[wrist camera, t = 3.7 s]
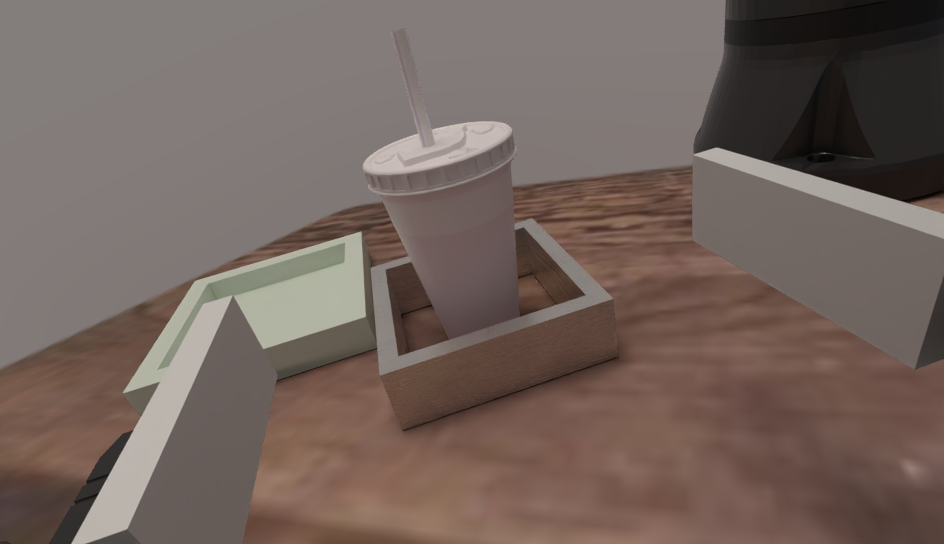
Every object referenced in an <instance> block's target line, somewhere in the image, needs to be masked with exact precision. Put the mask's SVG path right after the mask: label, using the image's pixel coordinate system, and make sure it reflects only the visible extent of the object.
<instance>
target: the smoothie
mask: <svg viewBox="0 0 944 544" xmlns="http://www.w3.org/2000/svg"><path fill="white" fill-rule="evenodd" d="M390 33H391V36H392V40H393V44H394V47H395V51H396V54H397V58H398V62H399V65H400V69H401V73H402V76H403V80H404V84H405V87H406V91H407V95H408V98H409V102H410V105H411V109H412V113H413V116H414V120H415V124H416V127H417V131H418V134H416V135H413V136H410V137H407V138H404V139H401V140H399V141H396V142H394V143H392V144H390V145H387V146H385V147H384V148H381V149H379V150H378V151H376V152H375V153H373V154H372V155H371V156H369V157H368V158H367V159H366V160H365V162H364V164H363V170H364V173H365V176H366V179H367V182H368V189H369V190H370V191H371V192H373V193H374V194H377V195H380V197H381V198H382V201H383V203H384V205H385V207H386V209H387V212H388V214H389V216H390V218H391V220H392V223H393V225H394V227H395V229H396V230H397V233H398V235H399V237H400V239H401V241H402V243H403V245H404V247H405V249H406V251H407V253H408V256H409V258H410V260H411V262H412V264H413V266H414V268H415V270H416V272H417V274H418V276H419V279H420V281H421V283H422V285H423V287H424V289H425V291H426V293H427V295H428V297H429V299H430V301H431V304H432V306H433V308H434V310H435V312H436V314H437V316H438V318H439V320H440V322H441V324H442V327H443V329H444V331H445V333H446V335H447V337H448V339H449V340H450V339H454V338H457V337H460V336H463V335H466V334H469V333H472V332H475V331H478V330H481V329H484V328H487V327H490V326H493V325H496V324H500V323H503V322H506V321H509V320H512V319H515V318H518V317H520V307H519V290H518V274H517V258H516V241H515V225H514V209H513V189H512V178H511V161H512V160H513V159H514V157H515V156H516V154H517V146H515V144H514V139H513V132H512V128H511V127H510V126H508V125H507V124H505V123H500V122H491V121H485V122H483V121H482V122H469V123H462V124H456V125H451V126H446V127H441V128H437V129H433V130H432V129H431V125H430V121H429V118H428V114H427V110H426V106H425V102H424V98H423V94H422V91H421V87H420V83H419V79H418V75H417V71H416V67H415V64H414V60H413V56H412V52H411V48H410V44H409V41H408V37H407V33H406V29H405V28H403V29H399V30H395V31H392V32H390Z"/></svg>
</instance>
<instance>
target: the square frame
mask: <svg viewBox="0 0 944 544" xmlns="http://www.w3.org/2000/svg"><path fill="white" fill-rule="evenodd" d="M514 225H515V241H516V258H517V274H518V277H521V276H524V275H527V274H530V273H533V275H534V276H535V277H536V278H537V280H538V281H539V282H540V284H541V285H542V286H543V288H544V289H545V290H546V291H547V293H548V294H549V295H550V297H551V298H552V299H553V300H554V302H555V303H556V304H557V305H555V306H552V307H549V308H545V309H542V310H539V311H536V312H533V313H530V314H527V315H524V316H521V317H518V318H515V319H512V320H509V321H506V322H503V323H500V324H496V325H493V326H490V327H487V328H484V329H481V330H478V331H475V332H472V333H469V334H466V335H463V336H460V337H457V338H454V339H450V340H447V341H444V342H441V343H438V344H435V345H432V346H429V347H426V348H423V349H420V350H417V351H414V352H411V353H408V348H407V342H406V337H405V331H404V326H403V320H402V315H401V314H404V313H407V312H410V311H414V310H417V309H420V308H423V307H426V306H429V305H432V304H431V301H430V299H429V297H428V295H427V293H426V291H425V289H424V287H423V285H422V283H421V281H420V279H419V276H418V274H417V272H416V270H415V268H414V266H413V264H412V262H411V260H410V258H409V256H408V257H404V258H401V259H398V260H395V261H391V262H388V263H385V264H382V265H378V266H375V267H372V268H371V279H372V290H373V302H374V314H375V326H376V338H377V350H378V361H379V373H380V378H381V380H382V382H383V385H384V387H385V390H386V392H387V394H388V397H389V399H390V401H391V404H392V406H393V409H394V411H395V413H396V416H397V418H398V421H399V423H400V425H401V428H402V430H405V429H408V428H411V427H414V426H417V425H420V424H423V423H426V422H429V421H432V420H434V419H437V418H440V417H443V416H446V415H449V414H452V413H455V412H458V411H461V410H464V409H467V408H470V407H472V406H475V405H478V404H481V403H484V402H487V401H490V400H493V399H496V398H499V397H502V396H505V395H508V394H510V393H513V392H516V391H519V390H522V389H525V388H528V387H531V386H534V385H537V384H540V383H543V382H546V381H548V380H551V379H554V378H557V377H560V376H563V375H566V374H569V373H572V372H575V371H578V370H581V369H584V368H586V367H589V366H592V365H595V364H598V363H601V362H604V361H607V360H610V359H613V358H616V357H619V355H618V344H617V332H616V321H615V310H614V299H613V298H612V297H611V296H610V295H609V294H608V293H607V292H606V291H605V290H604V289H603V288H602V287H601V286H600V285H599V284H598V283H597V282H596V281H595V280H594V279H593V278H592V277H591V276H590V275H589V274H588V273H587V272H586V271H585V270H584V269H583V268H582V267H581V266H580V265H579V264H578V263H577V262H576V261H575V260H574V259H573V258H572V257H571V256H570V255H569V254H568V253H567V252H566V251H565V250H564V249H563V248H562V247H561V246H560V245H559V244H558V243H557V242H556V241H555V240H554V239H553V238H552V237H551V236H550V235H549V234H548V233H547V232H546V231H545V230H544V229H543V228H542V227H540V226H539V225H538V224H537V223H536V222H535V221H534V220H533V219H529V220H526V221H522V222H519V223H516V224H514Z"/></svg>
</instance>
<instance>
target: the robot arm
mask: <svg viewBox="0 0 944 544" xmlns="http://www.w3.org/2000/svg"><path fill="white" fill-rule="evenodd" d="M725 8H726V9H725V35H724V55H723V60H722V63H721V66H720V69H719V72H718V74H717V78H716V81H715V84H714V86H713V89H712V92H711V95H710V98H709V102H708V105H707V108H706V111H705V115H704V118H703V122H702V125H701V128H700V130H699V131H698V132H697V135H696V137H695V141H694V155H693V193H692V240H693V241H695V242H696V243H698V244H700V245H701V246H703V247H705V248H707V249H708V250H710V251H712V252H713V253H715V254H717V255H719V256H720V257H722V258H724V259H725V260H727V261H729V262H731V263H732V264H734V265H736V266H737V267H739V268H741V269H743V270H744V271H746V272H748V273H750V274H751V275H753V276H755V277H756V278H758V279H760V280H762V281H763V282H765V283H767V284H768V285H770V286H772V287H774V288H775V289H777V290H779V291H780V292H782V293H784V294H786V295H787V296H789V297H791V298H792V299H794V300H796V301H798V302H799V303H801V304H803V305H804V306H806V307H808V308H810V309H811V310H813V311H815V312H816V313H818V314H820V315H822V316H823V317H825V318H827V319H828V320H830V321H832V322H834V323H835V324H837V325H839V326H840V327H842V328H844V329H846V330H847V331H849V332H851V333H852V334H854V335H856V336H858V337H859V338H861V339H863V340H864V341H866V342H868V343H870V344H871V345H873V346H875V347H876V348H878V349H880V350H882V351H883V352H885V353H887V354H888V355H890V356H892V357H894V358H895V359H897V360H899V361H900V362H902V363H904V364H906V365H907V366H909V367H911V368H912V369H914V370H915V369H918V368H921V367H923V366H926V365H929V364H931V363H934V362H937V361H939V360H942V359H944V214H942V213H939V212H936V211H932V210H929V209H925V208H922V207H919V206H915V205H912V204H908V203H905V202H901V201H900V200H906V199H911V198H916V197H920V196H924V195H928V194H931V193H934V192H938V191H940V190H943V189H944V0H726V7H725ZM276 380H277V373H276V371H275V369H274V368H273V366H272V364H271V362H270V360H269V359H268V357H267V355H266V353H265V351H264V350H263V348H262V346H261V344H260V342H259V341H258V339H257V337H256V335H255V333H254V332H253V330H252V328H251V326H250V325H249V323H248V321H247V319H246V317H245V316H244V314H243V312H242V310H241V308H240V307H239V305H238V303H237V301H236V299H235V298H234V296H233V295H231V296H228V297H225V298H221V299H218V300H215V301H212V302H208V303H205V304H203V305H202V307H201V309H200V311H199V312H198V314H197V316H196V318H195V320H194V322H193V323H192V325H191V327H190V329H189V331H188V332H187V334H186V336H185V338H184V340H183V342H182V343H181V345H180V347H179V349H178V351H177V352H176V354H175V356H174V358H173V360H172V362H171V363H170V365H169V367H168V369H167V371H166V372H165V374H164V376H163V378H162V380H161V382H160V383H159V385H158V387H157V389H156V391H155V392H154V394H153V396H152V398H151V400H150V402H149V403H148V405H147V407H146V409H145V411H144V412H143V414H142V416H141V418H140V420H139V422H138V423H137V425H136V427H135V429H134V430H133V431H130V432H127V433H124V434H122V435H121V436H120V437H119V438H118V439H117V440H116V442H115V443H114V444H113V445H112V446H111V447H110V448H109V449H108V450H107V451H106V452H105V453H104V454H103V455H102V456H101V457H100V459H99V460H98V462H97V464H96V465H95V467H94V469H93V471H92V472H91V474H90V476H89V477H88V479H87V481H86V482H87V485H85V486H83V487H82V489H81V491H80V492H79V494H78V496H77V497H76V499H75V501H74V502H75V505H74V506H72V507H71V508H70V509H69V511H68V513H67V514H66V516H65V518H64V519H63V521H62V523H61V524H60V526H59V528H58V529H57V531H56V533H55V535H54V536H53V538H52V540H51V541H50V543H49V544H242V541H243V536H244V531H245V527H246V522H247V517H248V513H249V508H250V503H251V498H252V494H253V489H254V484H255V479H256V475H257V470H258V465H259V460H260V456H261V451H262V446H263V442H264V437H265V432H266V427H267V423H268V418H269V413H270V408H271V404H272V399H273V394H274V389H275V385H276ZM0 544H10V543H9V542H7V541H3V542H0Z"/></svg>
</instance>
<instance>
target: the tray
mask: <svg viewBox="0 0 944 544" xmlns="http://www.w3.org/2000/svg"><path fill="white" fill-rule="evenodd" d="M231 295H233V296H234V298H235V299H236V301H237V303H238V305H239V307H240V308H241V310H242V312H243V314H244V316H245V317H246V319H247V321H248V323H249V325H250V326H251V328H252V330H253V332H254V333H255V335H256V337H257V339H258V341H259V342H260V344H261V346H262V348H263V350H264V351H265V353H266V355H267V357H268V359H269V360H270V362H271V364H272V366H273V368H274V369H275V371H276V373H277V380H279V379H282V378H285V377H288V376H292V375H295V374H298V373H301V372H304V371H307V370H310V369H313V368H316V367H319V366H323V365H326V364H329V363H332V362H335V361H338V360H341V359H344V358H347V357H350V356H353V355H357V354H360V353H363V352H366V351H369V350H372V349H375V348H377V338H376V326H375V314H374V302H373V290H372V279H371V259H370V254H369V251H368V248H367V246H366V243H365V240H364V237H363V235H362V232H358V233H355V234H352V235H348V236H345V237H342V238H338V239H335V240H331V241H328V242H325V243H321V244H318V245H315V246H311V247H308V248H305V249H301V250H298V251H294V252H291V253H288V254H284V255H281V256H278V257H274V258H271V259H268V260H264V261H261V262H257V263H254V264H251V265H247V266H244V267H241V268H237V269H234V270H231V271H227V272H224V273H220V274H217V275H214V276H210V277H207V278H204V279H200V280H197V281H195V282H194V284H193V285H192V287H191V288H190V290H189V291H188V293H187V294H186V296H185V297H184V299H183V301H182V302H181V304H180V305H179V307H178V308H177V310H176V311H175V313H174V315H173V316H172V318H171V319H170V321H169V322H168V324H167V325H166V327H165V328H164V330H163V332H162V333H161V335H160V336H159V338H158V339H157V341H156V342H155V344H154V346H153V347H152V349H151V350H150V352H149V353H148V355H147V356H146V358H145V359H144V361H143V363H142V364H141V366H140V367H139V369H138V370H137V372H136V373H135V375H134V377H133V378H132V380H131V381H130V383H129V384H128V386H127V387H126V389H125V390H124V392H123V395H124V396H125V397H126V399H127V400H128V401H129V402H130V404H131V405H132V406H133V407H134V409H135V410H136V411H137V413H138V414H139V415H140V416H142V414H143V412H144V411H145V409H146V407H147V405H148V403H149V402H150V400H151V398H152V396H153V394H154V392H155V391H156V389H157V387H158V385H159V383H160V382H161V380H162V378H163V376H164V374H165V372H166V371H167V369H168V367H169V365H170V363H171V362H172V360H173V358H174V356H175V354H176V352H177V351H178V349H179V347H180V345H181V343H182V342H183V340H184V338H185V336H186V334H187V332H188V331H189V329H190V327H191V325H192V323H193V322H194V320H195V318H196V316H197V314H198V312H199V311H200V309H201V307H202V305H203V304H205V303H208V302H212V301H215V300H218V299H221V298H225V297H228V296H231Z"/></svg>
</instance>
